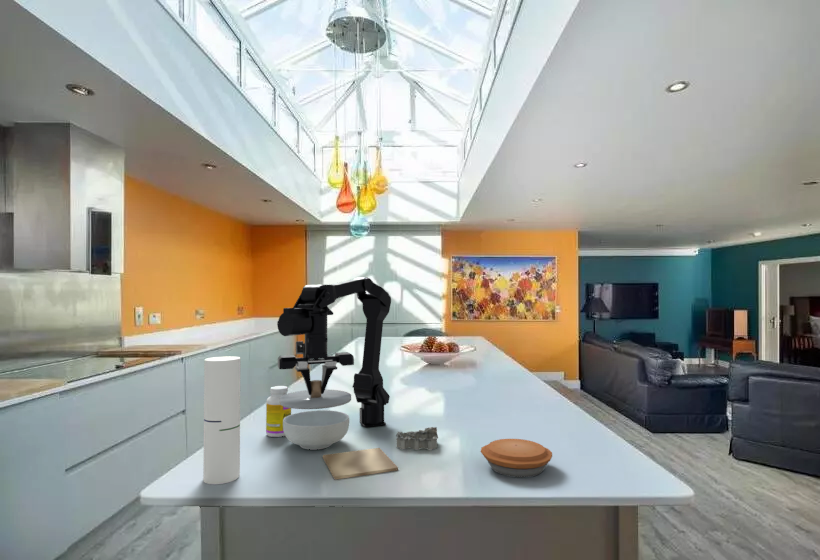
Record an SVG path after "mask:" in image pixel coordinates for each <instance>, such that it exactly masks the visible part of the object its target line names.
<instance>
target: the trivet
mask: <svg viewBox="0 0 820 560" xmlns="http://www.w3.org/2000/svg"><path fill="white" fill-rule="evenodd" d="M322 460H323V461H324V463H325V465H326V466H327V468H328V470H329V472H330V474H331V476H332V477H333V479H334V480H342V479H348V478H354V477H360V476H361V477H363V476H369V475H375V474H383V473H389V472H397V471H399V466H398V465H397V464H396V463H395V462H394V461H393V460H392V459H391V458H390V456H388V454H386V453H385V452H384V451H383V449H381V448H380V447H376V448H367V449H359V450H351V451H343V452H337V453H329V454H323V455H322Z"/></svg>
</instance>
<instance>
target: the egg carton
mask: <svg viewBox="0 0 820 560" xmlns="http://www.w3.org/2000/svg"><path fill="white" fill-rule="evenodd" d="M437 428H438V427H437V426H435V427H433V426H431V427H426V428H424V430H423V429H422V430H421V429H419V430H417V431H412V430H411V431H406V432H403V431H397V432H396V435H395V437H396V448H397V449H400V450H406V449H413V450H417V451H418V450H420V449H426V450H428V451H433V450H435V449H437V448H438V439H439V436H438V429H437Z"/></svg>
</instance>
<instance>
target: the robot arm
mask: <svg viewBox="0 0 820 560" xmlns="http://www.w3.org/2000/svg"><path fill="white" fill-rule="evenodd" d="M354 294H356V298H357V299H358V301H360V302H361V304H362V312H363V315H364V316H365V319H366V322H365V332H364V333H365V334H364V344H363V353H362V354H363V355H362V365H361V369H360V370H359V371H358V373H354V375H353V384H352V386H351V387H352V388H353V394H354V395H355V399H356V402H357V403H360V404H361V406H360V407H359V423H360V424H361V425H362V426H363V427H364V428H371V427H379V426H381V427H382V426H387V423H386V421H385V406H386V405H387V404H389V403H390V402H389V401H390V398H391V397H390V395H389V393H388V392H387V390H386V389H385V388H384V378H383V376H382V374H381V371H380V361H381V360H380V359H381V358H380V357H381V348H382V338H383V337H382V336H383V328H384V327H383V326H384V320H386V318H387V316H388V314H389V313H390V309H391V304H392V297H391V295H390V294H389V292H388V291H387V290H385V288H383V287H382V286H380V285H378V284H376V283H375V282H374V281H373V280H372V279H371V278H370V277H366V276H363V277H362V276H361V277H359V276H358V277H355V278H353V279H348V280H344V281H340V282H336V283H332V284H306V285H304V286H303V287H302V290H301V293H300V295H299V296H298V297H297V300H296V301H295V303H294V305H293V307H283V310H282V313H281V315H279V317H278V320H277V321H276V323H277V324H276V325H277V329H278V332H279V334H280V335H281V336H283V337H292V336H302V335H304V341H303V340H301V341H296V342H295V354H296V355H302V357H296V356H295V355H294V354H284V355H279V356H278V358H277V368H278V369H279V370H294V369H295V371H296V372H298V373H301V376H302V378H303V381H304V383H305V387H306V390H308V393H309V395H311V381H312V380H311V373H310V368H309V367H308V366H309V365H320V364H321V366H322V368H321V370H322V371H321V372H322V373H321V394H323V393H324V391H325V389H327V385H328V382H329V380H330V378H331V376H332V375H333V372H334V371H335V370H338V366H337V364H340V365H341V366H354V365H355V358H354V355H353V354H352V353H350V352H348V351H345V352H335V353H334V355H328V316H333V315H334V312H333V311H332V310H331V309H330V308H329V306H330V305H332V304H333V303H335V302H336V301H337V300H338V299H340V298H343V297H347V296H350V295H354Z"/></svg>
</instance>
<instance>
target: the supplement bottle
mask: <svg viewBox="0 0 820 560" xmlns="http://www.w3.org/2000/svg"><path fill="white" fill-rule="evenodd" d="M269 389H270V390H269V393H270V396H268V398H266V411H265V412H266V414H265V415H266V417H265V418H266V419H265V421H266V424H265V429H266V430H265V432H266V433H265V434H266V435H267V437H270V438H271V437H272V438H282V436H283V437H286V436H285V434H284V431H283V419H284V418H285V417H287V416H289V415H292V408H288V407H284V406H282V405H280V397H281V396H283V395H286V394H288V391H289V390H288V389H289V387H288V386H286V385H276V386H271V387H270V388H269Z"/></svg>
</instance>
